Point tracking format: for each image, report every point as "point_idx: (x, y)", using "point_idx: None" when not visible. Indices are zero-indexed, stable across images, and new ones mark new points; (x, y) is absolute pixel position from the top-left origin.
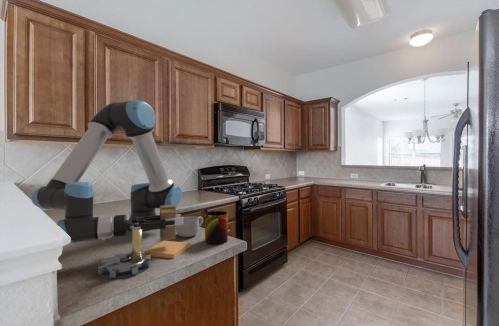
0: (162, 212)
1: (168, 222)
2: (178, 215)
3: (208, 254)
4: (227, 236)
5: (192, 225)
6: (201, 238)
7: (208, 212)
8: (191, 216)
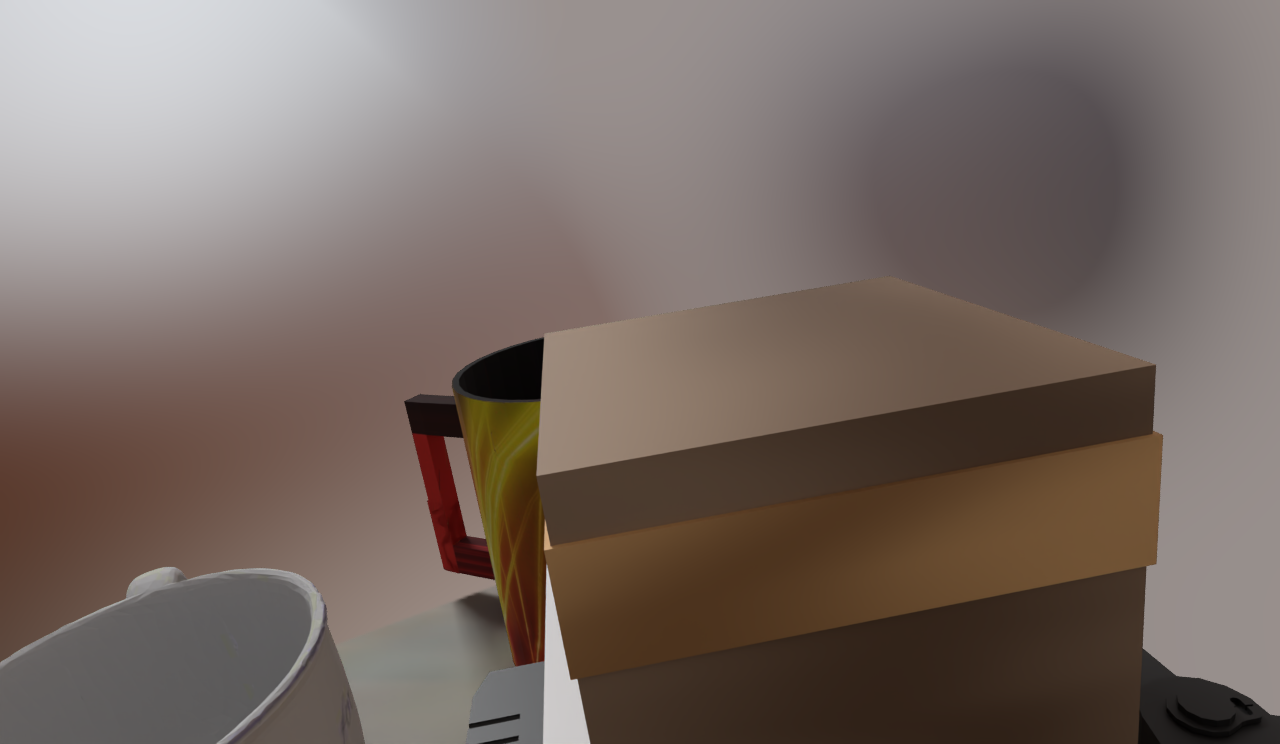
0: (1127, 524)
1: (1146, 673)
2: None
3: None
4: None
5: (343, 677)
6: (462, 736)
7: (471, 397)
8: (19, 650)
